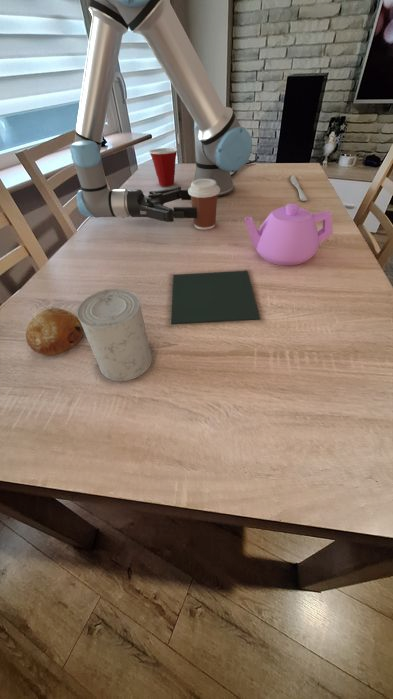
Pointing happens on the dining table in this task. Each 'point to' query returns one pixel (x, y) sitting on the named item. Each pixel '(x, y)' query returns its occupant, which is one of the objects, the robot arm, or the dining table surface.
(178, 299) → the mat
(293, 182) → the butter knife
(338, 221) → the dining table surface
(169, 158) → the plastic cup
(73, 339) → the bread roll
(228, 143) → the robot arm
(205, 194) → the coffee cup
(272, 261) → the teapot
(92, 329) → the grey tin can
